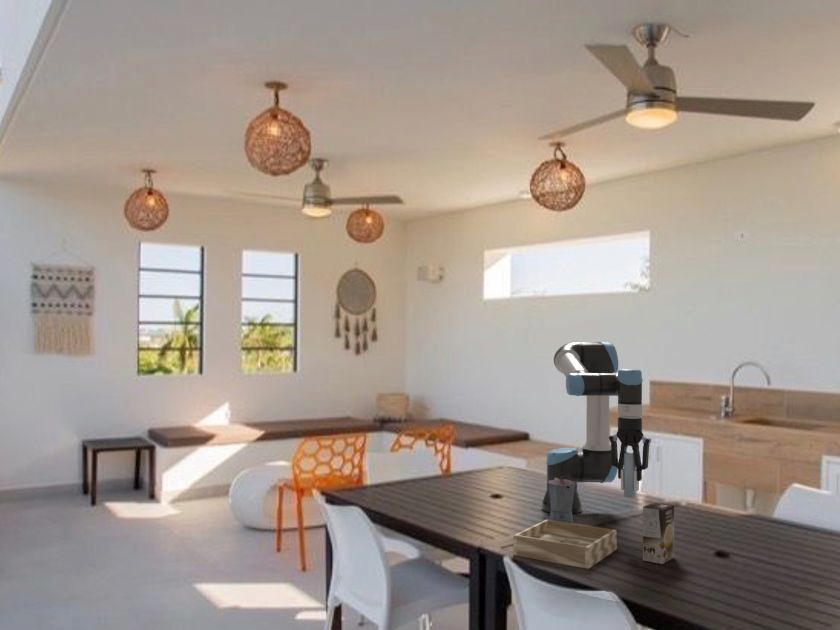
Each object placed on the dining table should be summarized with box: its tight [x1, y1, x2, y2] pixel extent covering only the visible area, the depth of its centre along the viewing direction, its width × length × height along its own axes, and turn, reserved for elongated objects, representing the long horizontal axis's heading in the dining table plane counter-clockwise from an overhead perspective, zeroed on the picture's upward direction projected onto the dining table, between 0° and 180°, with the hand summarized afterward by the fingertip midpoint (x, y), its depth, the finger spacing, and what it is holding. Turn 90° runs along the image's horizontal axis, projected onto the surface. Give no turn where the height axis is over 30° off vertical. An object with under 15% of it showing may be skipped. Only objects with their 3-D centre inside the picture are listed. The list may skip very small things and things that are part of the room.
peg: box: [623, 451, 637, 499], centre depth 244 cm, size 4×4×14 cm
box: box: [512, 519, 618, 570], centre depth 235 cm, size 24×24×6 cm
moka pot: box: [548, 474, 575, 524], centre depth 259 cm, size 10×15×20 cm, turn 15°
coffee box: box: [642, 502, 675, 565], centre depth 228 cm, size 9×6×16 cm
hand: (629, 489), depth 243 cm, fingers closed on peg, 3 cm apart
